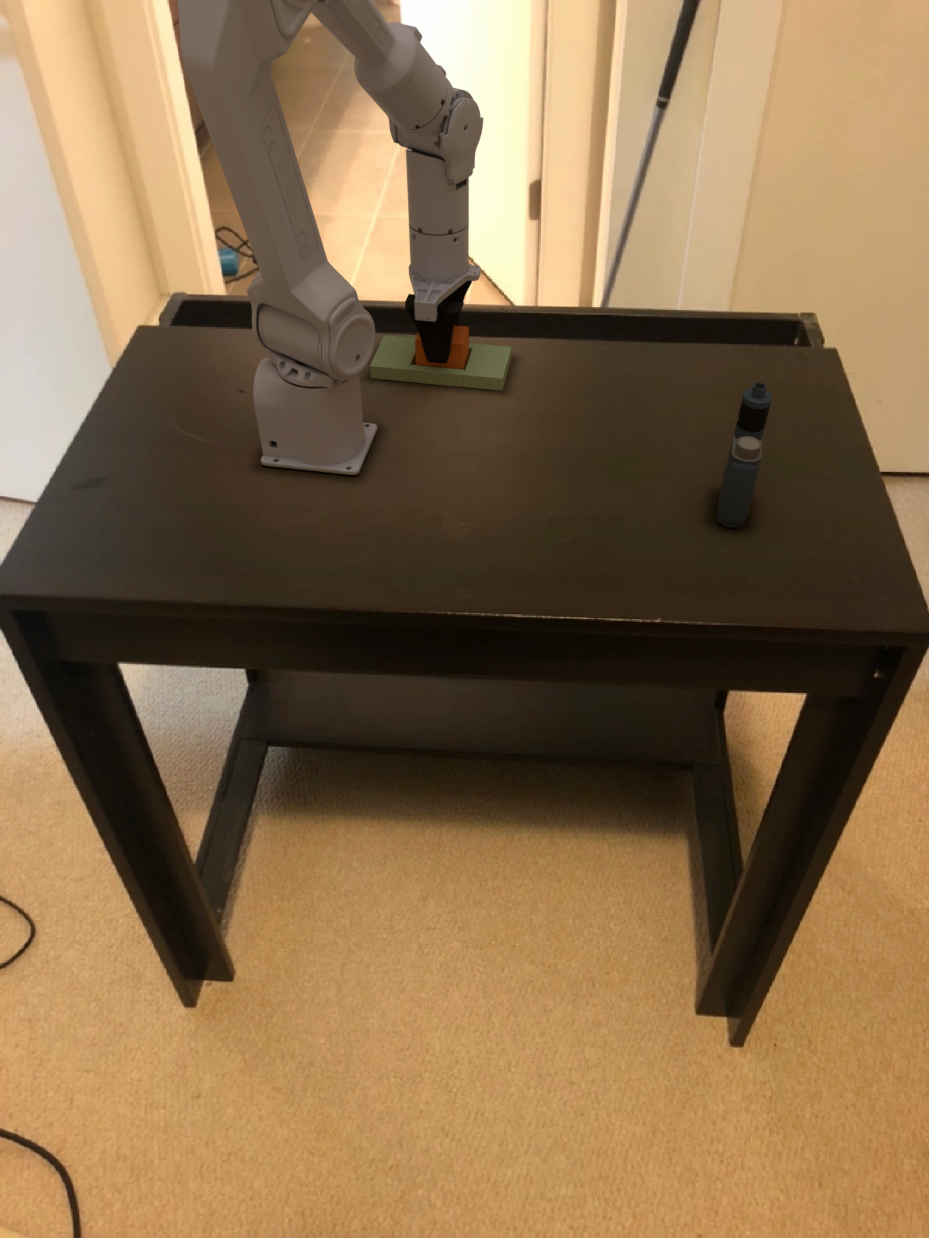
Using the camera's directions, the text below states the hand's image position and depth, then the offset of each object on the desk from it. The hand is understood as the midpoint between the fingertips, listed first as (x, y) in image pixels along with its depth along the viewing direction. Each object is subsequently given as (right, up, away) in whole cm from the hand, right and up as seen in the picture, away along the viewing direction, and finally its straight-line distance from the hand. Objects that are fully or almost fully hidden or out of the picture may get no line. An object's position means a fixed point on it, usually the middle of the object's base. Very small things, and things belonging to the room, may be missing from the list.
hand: (441, 351), depth 103 cm
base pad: (0, -1, +1) cm, 2 cm away
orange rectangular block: (0, -1, +1) cm, 1 cm away
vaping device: (+26, -19, -15) cm, 36 cm away
